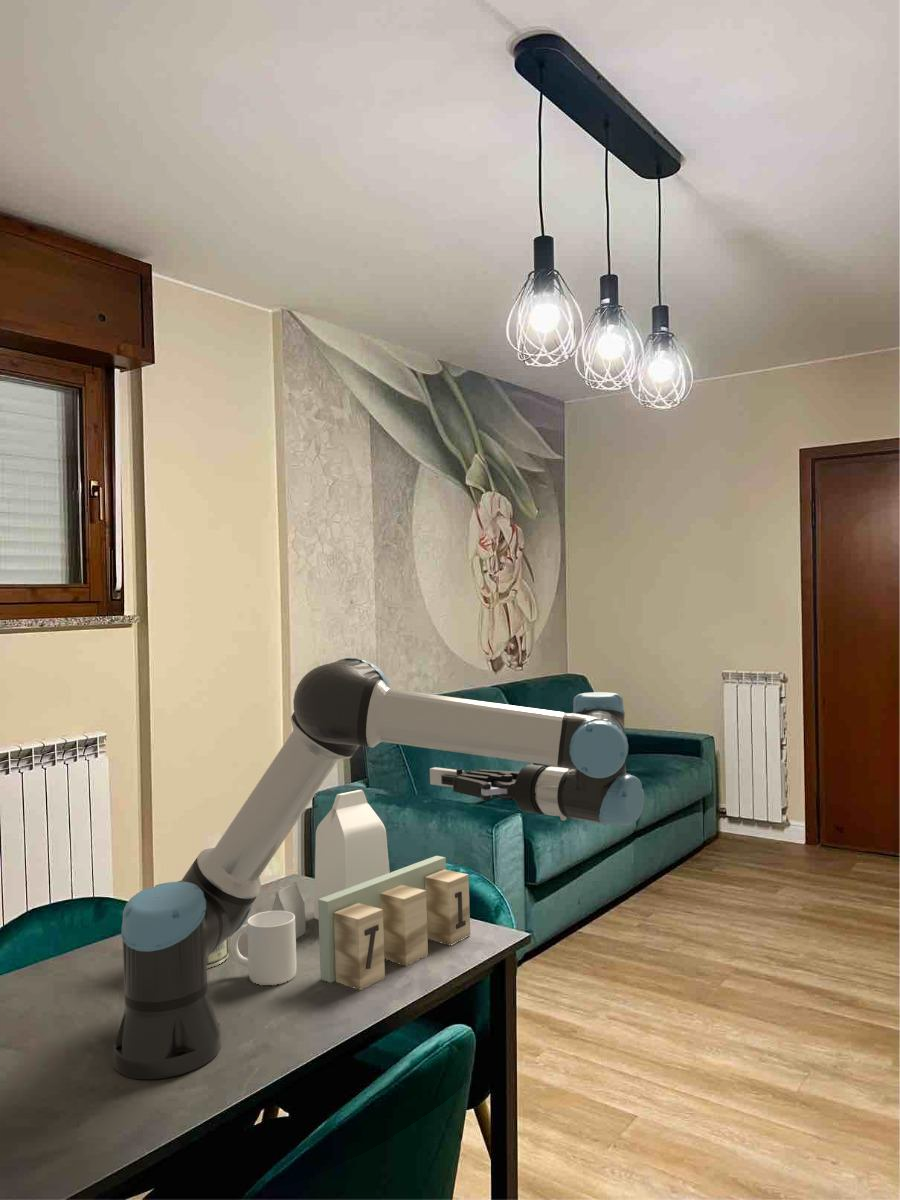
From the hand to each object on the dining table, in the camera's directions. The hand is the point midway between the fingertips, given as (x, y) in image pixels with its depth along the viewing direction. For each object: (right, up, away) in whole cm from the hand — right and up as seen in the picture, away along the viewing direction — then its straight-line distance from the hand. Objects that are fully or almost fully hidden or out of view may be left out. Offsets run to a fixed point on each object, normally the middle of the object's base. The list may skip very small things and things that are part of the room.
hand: (432, 775), depth 157 cm
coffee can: (-43, -37, +11) cm, 58 cm away
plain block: (-5, -35, +9) cm, 37 cm away
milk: (-17, -36, +32) cm, 51 cm away
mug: (-30, -36, +3) cm, 47 cm away
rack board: (-8, -35, +12) cm, 38 cm away
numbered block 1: (+3, -35, +18) cm, 40 cm away
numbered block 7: (-13, -35, 0) cm, 38 cm away
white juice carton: (-29, -36, +21) cm, 51 cm away
